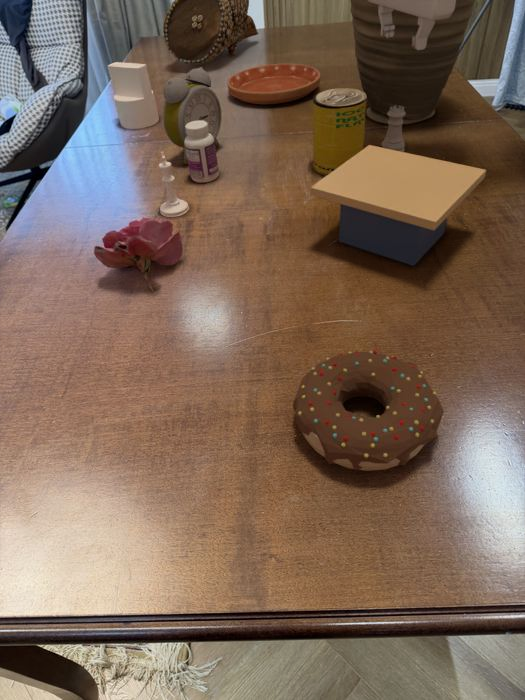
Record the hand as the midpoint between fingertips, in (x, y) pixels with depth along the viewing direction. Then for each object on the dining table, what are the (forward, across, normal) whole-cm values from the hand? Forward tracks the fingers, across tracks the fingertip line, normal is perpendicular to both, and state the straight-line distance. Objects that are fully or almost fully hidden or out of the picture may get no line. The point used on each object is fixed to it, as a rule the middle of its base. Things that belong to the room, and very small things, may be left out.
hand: (402, 42), depth 83 cm
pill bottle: (+19, +8, +35) cm, 40 cm away
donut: (+19, -54, +36) cm, 68 cm away
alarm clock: (+19, +20, +33) cm, 43 cm away
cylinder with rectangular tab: (+19, +44, +40) cm, 63 cm away
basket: (+19, +89, +7) cm, 91 cm away
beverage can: (+19, 0, +11) cm, 22 cm away
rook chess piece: (+19, 0, 0) cm, 19 cm away
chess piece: (+19, -1, +43) cm, 47 cm away
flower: (+19, -17, +51) cm, 57 cm away
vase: (+19, +17, -12) cm, 28 cm away
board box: (+18, -26, +16) cm, 35 cm away
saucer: (+19, +45, +6) cm, 49 cm away
